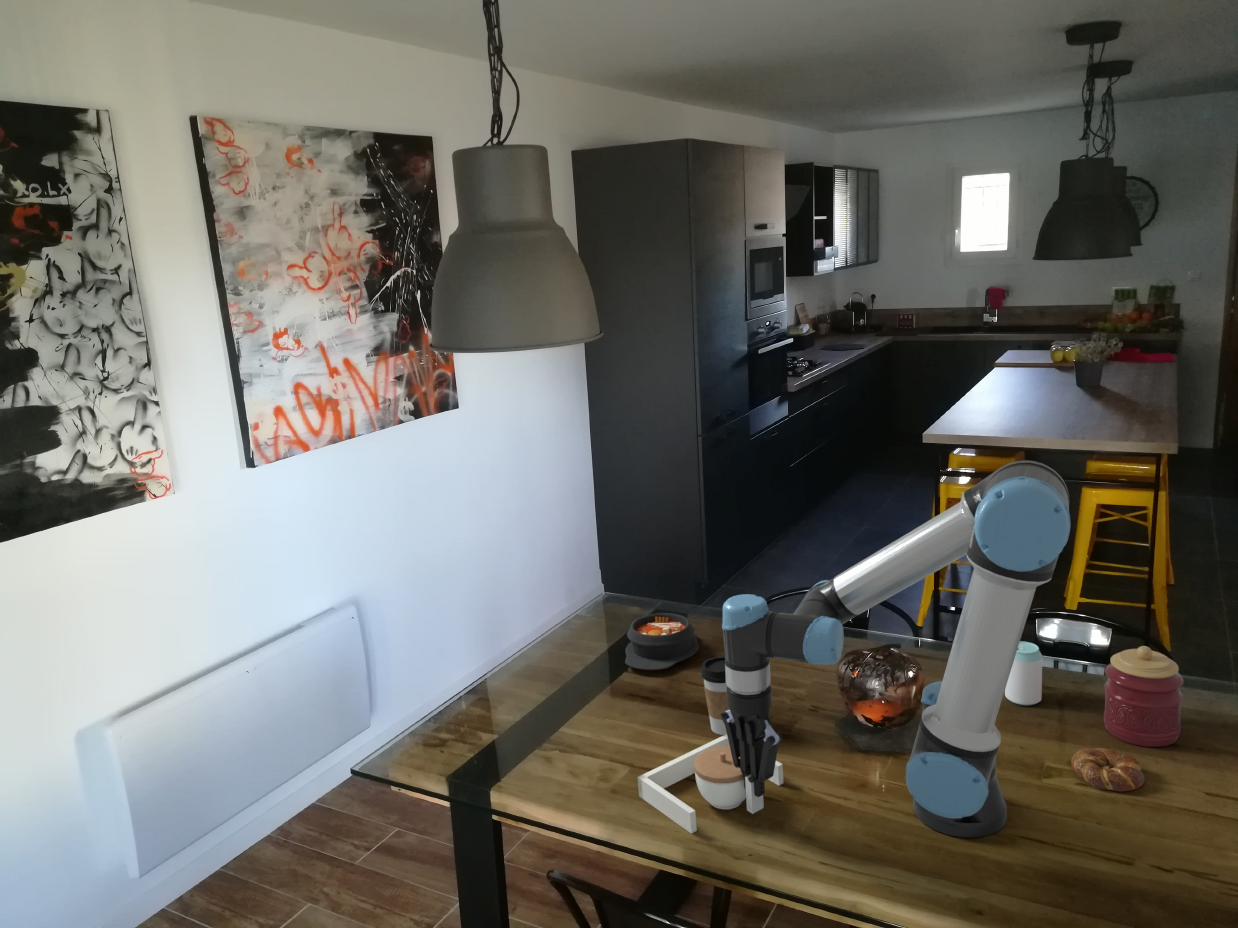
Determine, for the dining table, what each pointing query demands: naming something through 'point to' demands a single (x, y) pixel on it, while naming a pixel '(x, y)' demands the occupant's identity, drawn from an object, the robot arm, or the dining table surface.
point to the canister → (1143, 698)
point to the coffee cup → (715, 692)
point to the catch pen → (675, 771)
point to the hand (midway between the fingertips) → (755, 808)
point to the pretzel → (1107, 769)
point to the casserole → (660, 641)
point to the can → (1025, 676)
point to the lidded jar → (719, 778)
